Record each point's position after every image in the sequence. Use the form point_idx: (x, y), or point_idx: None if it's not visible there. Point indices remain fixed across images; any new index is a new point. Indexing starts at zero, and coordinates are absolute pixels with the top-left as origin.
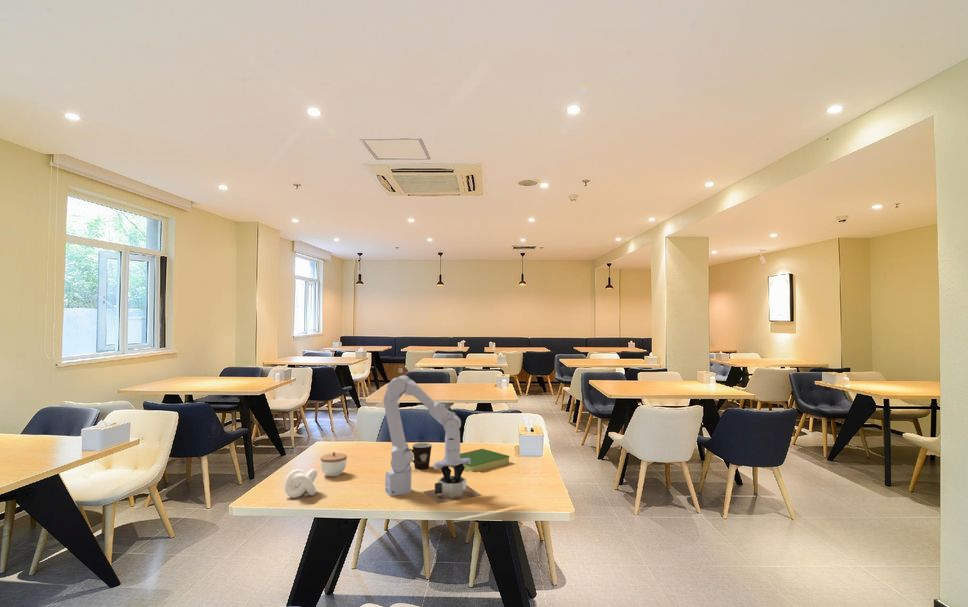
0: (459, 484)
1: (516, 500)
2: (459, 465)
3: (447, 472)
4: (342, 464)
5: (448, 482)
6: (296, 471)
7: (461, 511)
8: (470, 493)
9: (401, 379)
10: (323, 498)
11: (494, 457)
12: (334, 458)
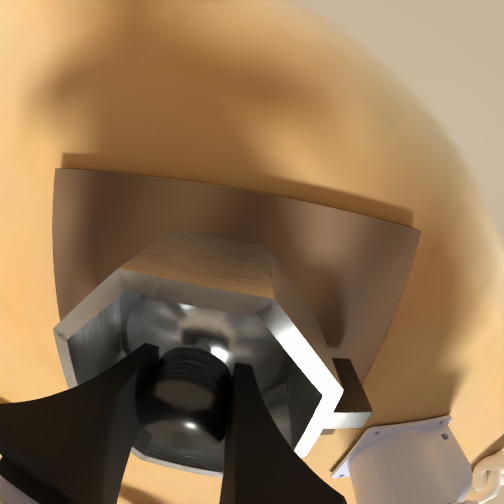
0: (172, 271)
1: (7, 55)
2: (42, 492)
3: (307, 489)
4: None
5: (255, 391)
6: (497, 492)
7: (341, 35)
8: (94, 246)
9: None
10: (490, 444)
11: None
12: None
